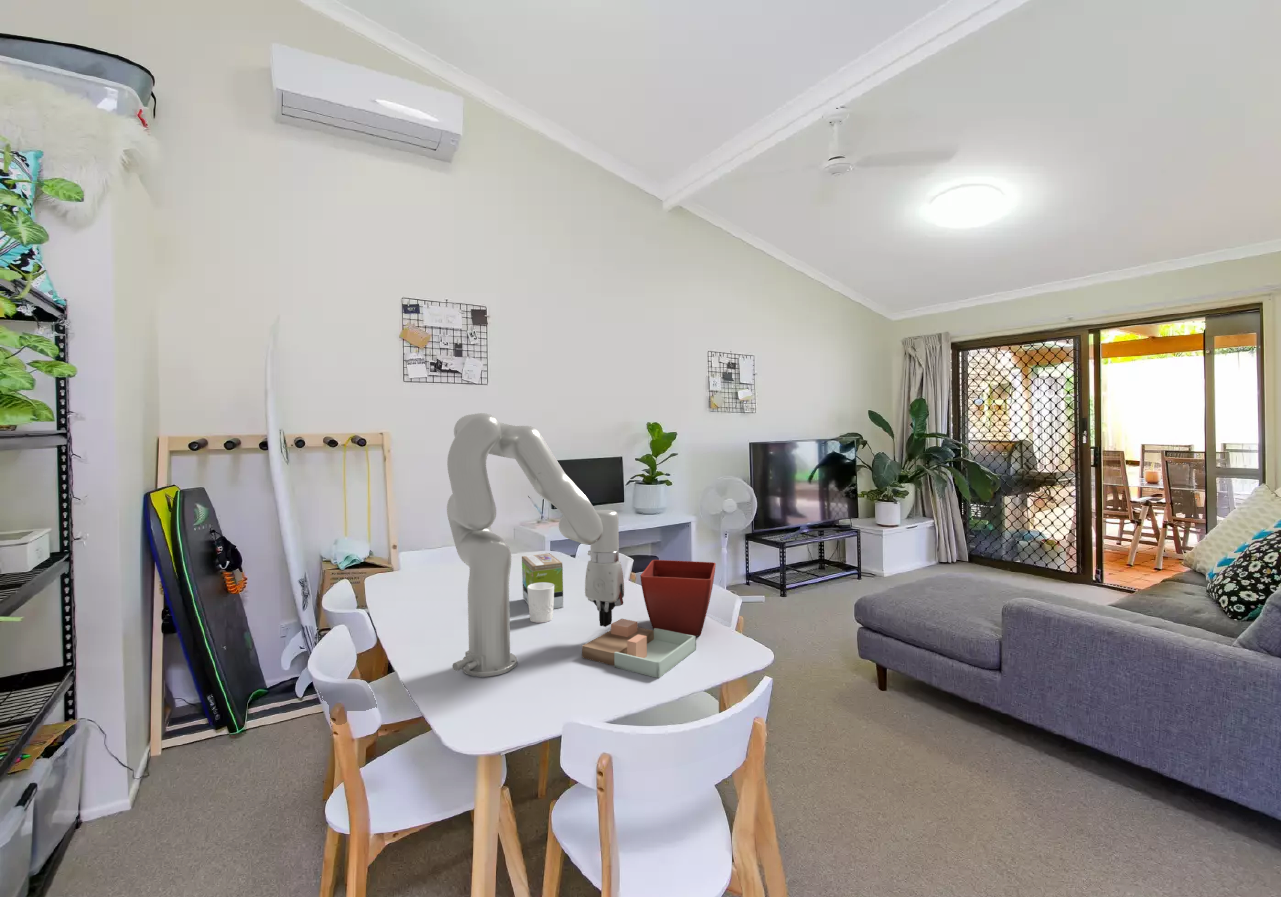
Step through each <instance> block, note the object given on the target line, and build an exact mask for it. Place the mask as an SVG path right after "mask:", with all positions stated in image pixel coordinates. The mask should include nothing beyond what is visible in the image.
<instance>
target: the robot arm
mask: <svg viewBox="0 0 1281 897" xmlns="http://www.w3.org/2000/svg"><path fill="white" fill-rule="evenodd" d="M453 436H454V439H453V441H452V442H451V445H450V447H449V451H448V453H447V460H446V461H447V473H448V479H449V483H450V484H449V485H450V487H451V488H450V489H451V491H452V494H451V495H450V496H449V498H448V501H447V505H446V514H447V519H448V523H449V528H450V531H451V534H452V538H453V542H454V546H455V549H456V552H457V555H458V556H459V558H460V560H461V561H462V563H464V564H465V565H466V566H468V567H469V573H468V574H469V575H468V583H467V615H468V616H467V618H468V619H467V620H468V621H467V622H468V623H467V625H468V627H467V628H468V650H467V651H465V653H464V654H465V656H464V657H462V659H460V660H457V661H454V662H453V663H452V665H451V666H452V669H453V671H454V672H459V671H461V670H462V672H464V673H465V674H466V675H469V676H472V677H481V678H486V677H494V676H499V675H502V674H505V673H508V672H510V671H512V670H513V669H514V668H515V667H516V666H517V664H518V657H517V656H516V655H515V654H513V653H511V627H510V626H511V624H510V623H511V622H510V619H511V618H510V617H511V616H510V614H511V613H510V611H511V610H510V575H511V567H512V551H511V548H510V546H509V544H508V542H507V541H506V540H505V539H504V538H503V537H501V536H500V535H497V534H496V533H493V531H492V527H491V526H492V525H493V524H494V522H495V520H496V517H497V507H496V502H495V499H494V496H493V492H492V488H491V484H490V479H489V476H488V470H487V459H488V455H491V456H497V457H503V458H507V459H513V460H515V461H516V463H517V464H518V465H519V467H520V469H521V470H522V472H523V474H524V475H525V476H526V479H527V480H528V481H529V482H530V484H531V485H532V487H533V489H534V490H535V492H536V493H537V494H538V495H540V497H541V498H543V499H544V500H545V501H547V502H548V503H550V504H551V505H553V506H554V507H555V508H556V509H557V510H558V511H559V512H560V513H561V515H562V516H561V517H560V519H559V521H558V529H559V532H560V534H561V535H562V536H563V537H564V538H567V539H568V540H571V541H574V542H577V543H579V544H582V545H587V546H588V545H589V546H590V549H589V550H588V551H587V555H588V556H590V560H588V561H587V565H586V570H585V580H584V595H585V597H586V598H587V600H588V602H592V603H594V605H595V606H596V610H597V611H598V615H599V616H598V618H599V626H600V627H604V628H607V627H608V626H611V624H612V623H613V622H612V620H613V610H614V608H616V607H620V606H623V605H624V600H623V598H624V597H625V582H624V579H625V578H624V572H623V567H622V563H621V561H620V545H619V544H620V542H619V540H620V538H619V537H620V536H619V533H620V531H619V514H618V512H617V511H616V510H613V509H597V510H596V509H595V507H594V505H593V504H592V503H591V501H590V499H589V497H587V496H586V494H584V492H583V491H582V490H581V489H580V488H579V487H578V486H577V484H576V483H575V482H574V481H573V480H572V479H571V478H570V477H569V476H568V474H566V472H565V471H564V469H563V467H562V466H561V465H560V462H558V459H557V458H556V456H555V454H554V453H553V451H552V450H551V448H550V446H549V445H548V443H547V442H546V439H545V438H544V437H543V435H542V433H541V432H540V431H539V430H538V429H537V428H535V427H533V426H529V425H514V424H513V425H512V424H507V423H503V422H500V421H498V419H497V418H496V417H495V416H494V415H491V414H488V413H482V412H481V413H479V412H478V413H474V414H473V413H471V414H466V415H464V416H461V417H460V418H459V419H458V420H457V421H456V422H455V425H454V428H453Z"/></svg>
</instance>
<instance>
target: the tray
mask: <svg viewBox="0 0 1281 897" xmlns="http://www.w3.org/2000/svg"><path fill="white" fill-rule="evenodd" d="M695 651H697V636H693V635H688V634H683V633H678V632H673V631H668V630H663V629H658V628H654V640H652V641H651V642H649V643H648V644H647V657H645V658H641V657H636V656H632V655H628V654H624V653H619V652H614V662H615V666H614V668H616V669H620V670H625V671H628V672H631V673H636V674H641V675H645V676H648V677H652V678H656V679H660V678H661V677H663V676H664V675H665V674H666V673H668V672H669V671H671V670H672V669H673V668H675V666H677V665H678V664H680V663H681V662H682V661H684V660H685V659H687V657H688V656H690V655H691V654H693V653H694V652H695Z"/></svg>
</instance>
